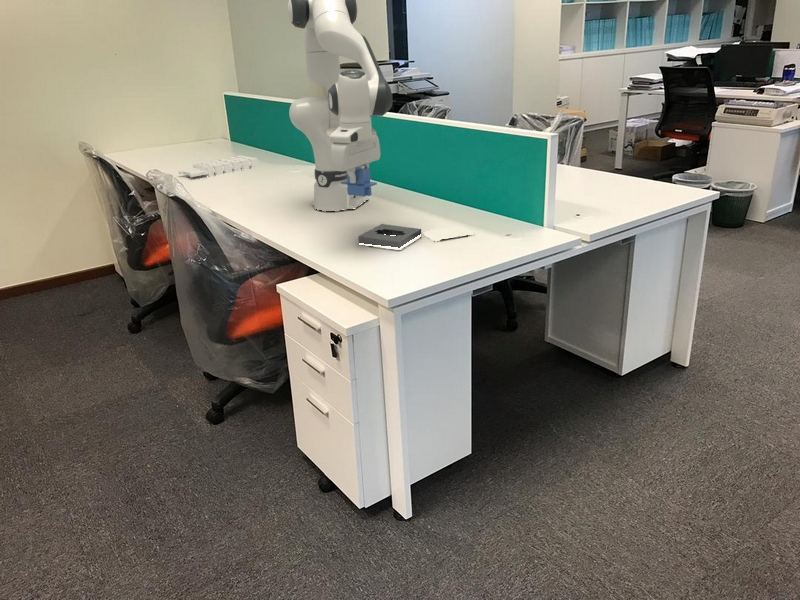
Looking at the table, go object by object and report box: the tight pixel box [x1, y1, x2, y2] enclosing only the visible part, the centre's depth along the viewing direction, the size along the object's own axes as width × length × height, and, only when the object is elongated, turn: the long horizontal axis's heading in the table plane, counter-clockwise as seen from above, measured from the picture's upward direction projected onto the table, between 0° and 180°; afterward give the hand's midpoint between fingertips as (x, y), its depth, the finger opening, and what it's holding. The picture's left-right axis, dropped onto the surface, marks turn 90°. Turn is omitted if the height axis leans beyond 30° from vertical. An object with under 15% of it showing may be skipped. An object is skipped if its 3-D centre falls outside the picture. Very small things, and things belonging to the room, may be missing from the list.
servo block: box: [341, 166, 378, 197], centre depth 181 cm, size 4×10×8 cm, turn 60°
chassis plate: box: [357, 223, 422, 248], centre depth 189 cm, size 14×14×3 cm
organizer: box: [178, 155, 259, 178], centre depth 294 cm, size 13×5×35 cm
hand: (358, 181), depth 181 cm, fingers closed on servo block, 4 cm apart
